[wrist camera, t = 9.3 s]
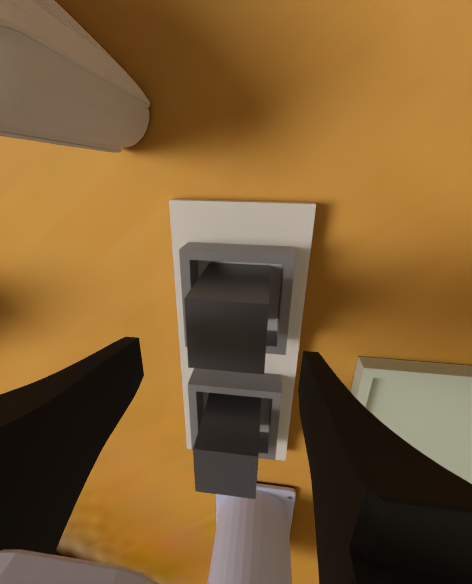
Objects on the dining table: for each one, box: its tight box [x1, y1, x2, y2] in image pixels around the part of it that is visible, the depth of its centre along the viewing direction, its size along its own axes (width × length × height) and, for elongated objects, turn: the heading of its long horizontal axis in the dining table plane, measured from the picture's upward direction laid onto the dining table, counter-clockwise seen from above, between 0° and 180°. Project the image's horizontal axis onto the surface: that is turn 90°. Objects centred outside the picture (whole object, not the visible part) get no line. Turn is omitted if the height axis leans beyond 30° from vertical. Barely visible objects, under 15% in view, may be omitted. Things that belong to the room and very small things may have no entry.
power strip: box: [169, 199, 316, 499], centre depth 19 cm, size 22×9×7 cm, turn 179°
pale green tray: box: [351, 356, 472, 484], centre depth 23 cm, size 14×14×1 cm
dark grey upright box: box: [184, 262, 270, 374], centre depth 17 cm, size 4×4×6 cm
